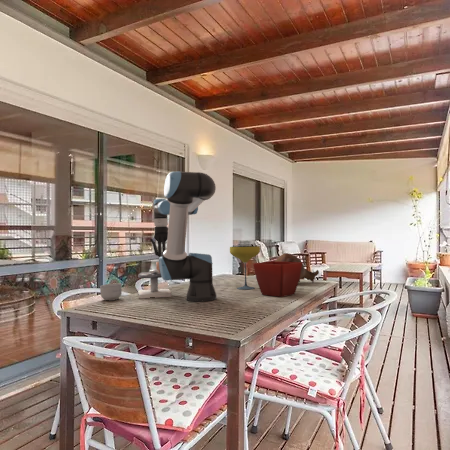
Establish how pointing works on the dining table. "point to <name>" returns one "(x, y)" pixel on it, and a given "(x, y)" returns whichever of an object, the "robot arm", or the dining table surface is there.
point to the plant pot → (277, 277)
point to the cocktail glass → (245, 258)
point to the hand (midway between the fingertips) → (162, 267)
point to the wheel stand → (154, 290)
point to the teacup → (111, 291)
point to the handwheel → (151, 273)
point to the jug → (304, 272)
